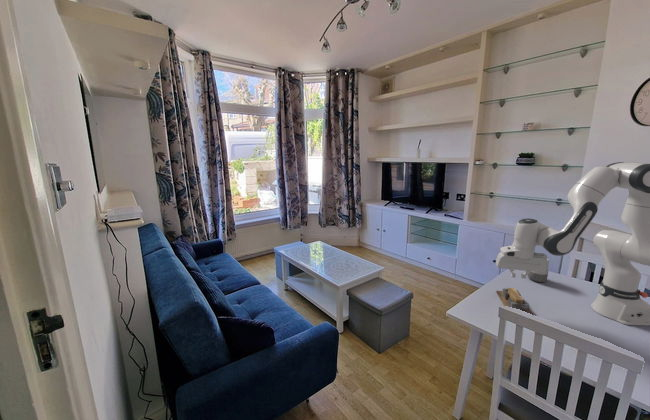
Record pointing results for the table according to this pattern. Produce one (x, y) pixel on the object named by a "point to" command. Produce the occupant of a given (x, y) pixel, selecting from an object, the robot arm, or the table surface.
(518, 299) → the golden brown block
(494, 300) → the table surface
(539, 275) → the smart speaker
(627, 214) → the robot arm
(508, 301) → the cap board
